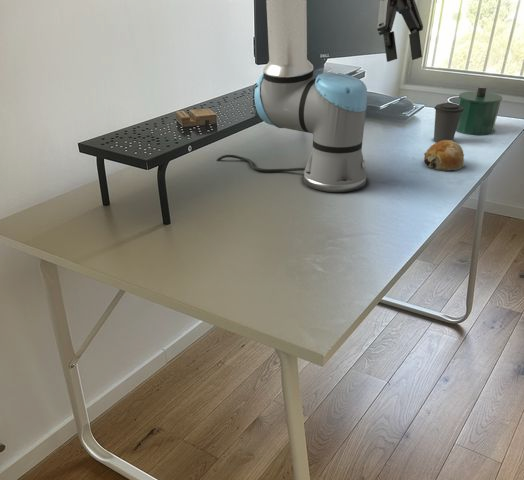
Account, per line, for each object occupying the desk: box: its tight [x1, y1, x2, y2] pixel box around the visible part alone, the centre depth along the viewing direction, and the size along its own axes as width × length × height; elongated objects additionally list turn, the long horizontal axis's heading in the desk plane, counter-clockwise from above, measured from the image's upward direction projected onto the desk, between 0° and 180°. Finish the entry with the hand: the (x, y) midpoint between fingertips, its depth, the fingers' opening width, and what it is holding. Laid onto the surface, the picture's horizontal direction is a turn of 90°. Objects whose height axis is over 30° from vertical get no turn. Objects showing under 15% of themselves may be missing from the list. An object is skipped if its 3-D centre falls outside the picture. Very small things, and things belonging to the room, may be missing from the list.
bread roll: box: [423, 140, 465, 172], centre depth 144 cm, size 10×10×8 cm
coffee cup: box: [433, 102, 464, 143], centre depth 158 cm, size 8×8×10 cm
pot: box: [456, 98, 501, 136], centre depth 167 cm, size 11×11×9 cm
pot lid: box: [458, 85, 503, 103], centre depth 164 cm, size 12×12×4 cm
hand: (404, 59), depth 151 cm, fingers open, 13 cm apart
